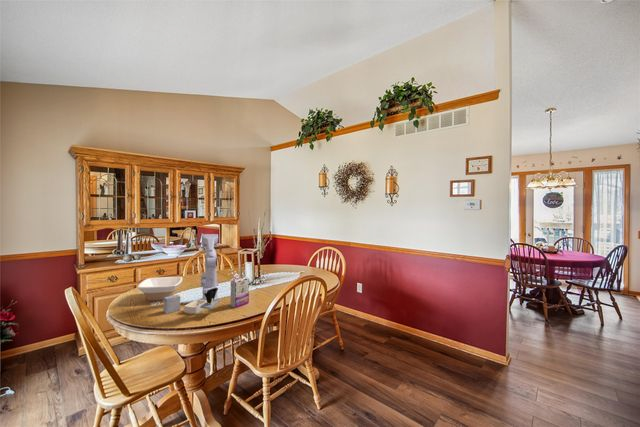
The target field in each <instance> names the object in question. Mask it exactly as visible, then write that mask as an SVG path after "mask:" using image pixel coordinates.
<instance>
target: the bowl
mask: <svg viewBox="0 0 640 427" xmlns="http://www.w3.org/2000/svg"><path fill="white" fill-rule="evenodd" d="M182 281H183V277H182V276H165V277H164V276H163V277H161V276H160V277H157V276H156V277H148V278H146V279H143V280H142V281H141V282H139V284H138V285H137V290H139V291H140V292H142V293H143V294H144V295H145V297H146V298H147V300H148V301H149V302H151V301H154V302H155V301H156V302H157V301H163V298H165V297H169V296H173V295H174V294H175V291H176V289H177V288H178V287H179V285H180V284H181V283H182Z"/></svg>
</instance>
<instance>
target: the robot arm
mask: <svg viewBox="0 0 640 427" xmlns="http://www.w3.org/2000/svg"><path fill="white" fill-rule="evenodd" d="M218 243H219V234H217V233H212V234H211V233H210V234H207V233H206V234H204V233H202V234H201V247H204V249H205V259H204V266H205V267H204V268H205V272H203V273H202V274H201V275H200V287H201V288H202V299H201V300H207V303H211V302H212V298H214V299H213V301H217V300H218V299H219V297H218V290H219V289H218V288H219V287H218V286H219V282H218V275H217V267H218V265H219V264H218V256H217V251H216V249H215V247H217V245H218Z"/></svg>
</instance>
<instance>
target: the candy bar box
mask: <svg viewBox="0 0 640 427" xmlns="http://www.w3.org/2000/svg"><path fill="white" fill-rule="evenodd" d="M249 289H250V278H249V277H246V276H244V277H240V278H237V279H236V278H235V279H234V280H231V281H230V307H231V308H234V309H237V308H239V307H242V306H244V305H247V304H249V302H250V299H249V298H250V294H249V293H250V290H249Z"/></svg>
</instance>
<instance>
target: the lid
mask: <svg viewBox="0 0 640 427" xmlns="http://www.w3.org/2000/svg"><path fill="white" fill-rule="evenodd" d="M213 299H214V298H212V302H211V303H207V302H206V303H205V304H203V305H202V306H200V308H204V310H213V308H215V307H217V305H218V304H219V303H220V300H219V301H218V300H214V301H213Z"/></svg>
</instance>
